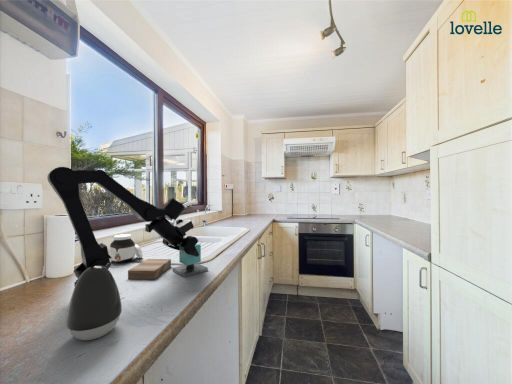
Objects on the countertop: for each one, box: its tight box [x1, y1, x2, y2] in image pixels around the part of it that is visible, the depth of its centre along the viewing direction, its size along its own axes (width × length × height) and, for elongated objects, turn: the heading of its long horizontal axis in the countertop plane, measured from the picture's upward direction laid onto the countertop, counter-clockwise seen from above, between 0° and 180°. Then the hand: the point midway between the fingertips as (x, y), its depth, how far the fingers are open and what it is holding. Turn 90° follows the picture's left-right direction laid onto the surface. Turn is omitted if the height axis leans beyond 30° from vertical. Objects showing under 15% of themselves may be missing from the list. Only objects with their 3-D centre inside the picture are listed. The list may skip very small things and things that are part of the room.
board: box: [127, 258, 172, 280], centre depth 90 cm, size 14×10×3 cm
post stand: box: [171, 263, 209, 278], centre depth 91 cm, size 10×10×7 cm
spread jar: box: [109, 233, 144, 264], centre depth 106 cm, size 12×11×12 cm
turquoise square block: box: [178, 243, 202, 265], centre depth 91 cm, size 6×6×7 cm
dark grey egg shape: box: [65, 262, 123, 341], centre depth 52 cm, size 10×10×15 cm
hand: (193, 253), depth 92 cm, fingers open, 7 cm apart
